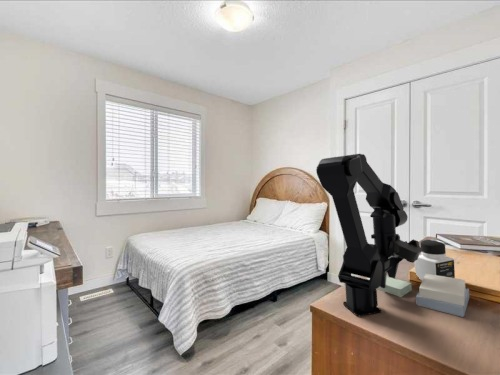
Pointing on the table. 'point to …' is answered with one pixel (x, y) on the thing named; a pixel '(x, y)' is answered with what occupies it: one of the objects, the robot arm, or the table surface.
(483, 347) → the table surface
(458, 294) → the grey stepped block
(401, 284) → the pale green stepped block
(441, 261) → the medicine bottle
